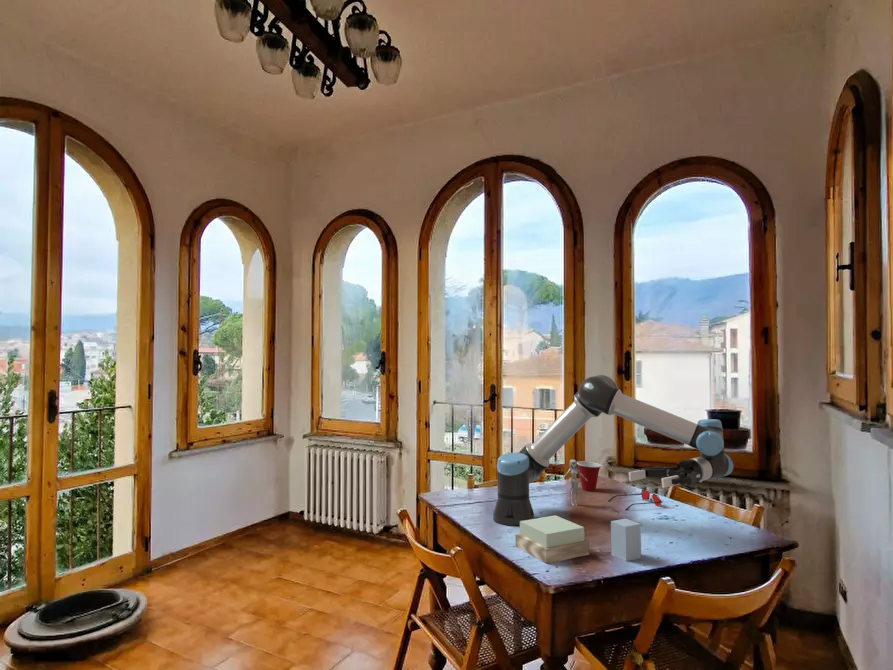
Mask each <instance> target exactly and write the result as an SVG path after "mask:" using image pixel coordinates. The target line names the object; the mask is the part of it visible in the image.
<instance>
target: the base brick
mask: <svg viewBox="0 0 893 670" xmlns="http://www.w3.org/2000/svg"><path fill="white" fill-rule="evenodd" d="M515 547H516V548H517V549H519V550H521V551H523V552H525V553H526V554H529V555H530V556H532V557H533V558H536V559H537V560H539V561H541V562H543V563H545V564H550V563H551V564H552V563H556V562H560V561H564V560H565V561H566V560H570V559H574V558H578V557H579V558H580V557H584V556H589V555H590V541H589V540H588V539H585V538H584V541H580V542H575V543H570V544H565V545H560V546H555V547H549V548H546V547H544V546H542V545H540V544H538V543H536V542H534V541H532V540H530V539H528V538H527V537H525V536H523V535H521V534H520V532H518V533H515Z"/></svg>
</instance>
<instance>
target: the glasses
mask: <svg viewBox="0 0 893 670" xmlns="http://www.w3.org/2000/svg"><path fill="white" fill-rule="evenodd" d="M651 494H652V495H651ZM650 495H651V496H650ZM627 496H641V498H642V501H645V500H649V502H640V503H639V502H638V503H632V504H630V505H629V506H628V507H626V508H625V510H624V511H628V510H629V509H630V508H631V507H632V506H634V505H645V504H647V505H648V504H654V505H655V506H656V507H659V506H661V505H662V504H663V501H662V500H661V499H660V498H661V497H659V495H657V494H656V493H653V492H652V491H651V492H650V491H649V490H646V489H641V491H640V493H632V494H631V493H630V494H618V495H617V494H616V495H614V496H612V497H611V498H610V499H609V500H607V502H611V501H613V499H614V498H616V497H627Z"/></svg>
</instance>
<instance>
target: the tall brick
mask: <svg viewBox="0 0 893 670" xmlns="http://www.w3.org/2000/svg"><path fill="white" fill-rule="evenodd" d="M641 525H642V524H641V523H639V522H636V521H633V520H631V519H628V518H621V519H617V520H615V519H614V520H610V543H611V544H610V545H611V546H610V547H611V554H610V555H612V556H613V557H615V558H618V559H620V560H623V561H624V562H629V561H634V560H639V559H641V558H642V537H641V536H642V535H641V534H642V529H641Z"/></svg>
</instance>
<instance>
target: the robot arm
mask: <svg viewBox="0 0 893 670" xmlns="http://www.w3.org/2000/svg"><path fill="white" fill-rule="evenodd" d="M617 385H618V384H617V383H616V382H615V381H614V380H613V378H611V377H609V376H607V375H604V374H597V375H594V376H589V377H587V378H585V379H584V380H582V382H581V383H580V385H579V389H578V391H577V392H576V393H575V394H574V395H573V400H574V401H573V402H572V403H571V404H570V405H569V406H568V407H567V408H566V409H565V410H564V411H563V412H562V413H561V414H560V415H559V416H558V417H557V418H556V419H555V420H554V421H553V423H551V424H550V425H549V427H547V429H546V430H545V431H543V433H542V434H541V435H540V436H539V437H537V439H536V440H535V441H533V443H526V444H525V445H524V446H523V448H521V450H520V451H519V452H508V453H503V454H502V455H500V456H499V457H498V458H497V462H496V463H497V464H496V473H497V476H496V477H497V478H496V479H497V480H496V481H497V485H496V486H497V499H496V503H495V506H494V510H493V512H492V519H493V521H494V522H496V523H497V524H501V525H505V526H520V521H524V520H530V519H535V513H534V509H533V505H532V504H531V500H530V484H531V483H532V482H534V481H536V480H538V479H539V478H540V477H541V476H542V474H543V472H544V471H546V469H547V468H548V467H549V466H550V460H551V458H553V456H555V454H556V453H558V451H559V450H561V448H563V446H564V445H565V444H566V443H568V441H569V440H570V439H571V438H572V437H574V436H575V434H577V432H578V431H579V430H580V429H581V428H582V427H583V426H584V425H585V424H586V423H587V422H588V421H589V420H591V418H598V417H599V416H601V414H602V413H603V414H605V415H607V416H613V415H614V416H618V417H620V418H622V419H624V420H627V421H630V422H632V423H634V424H637V425H639V426H640V427H644V428H646V429H648V430H651V431H653V432H656V433H659V434H661V435H663V436H665V437H668V438H670V439H672V440H675V441H677V442H680V443H682V444H684V445H687V446H689V447H691V448H693V449H695V450H697V451H699V453H700V456H697V457H692V458H688V459H683V460H680V461H679V462H678V463H677V465H675V466H674V465H673V466H668V465H665V466H654V467H639V468H638V470H634V471H629V472H628V481H629V482H633V481H638V480H639V481H640V480H646V479H647V478H660V480H661V488H663V489H666V488H670V487H675V486H679V485H681V486H684V485H685V484H686V486H692V485H693V484H695V483H698V482H699V483H703V481H707V480H713V479H718V478H719V479H721V478H723V477H726V476H728V475H730V474H731V473H732V472H733V470H734V463H733V460H732V458H731V457H730V456H729V455H728V454H727V453H725V442H724V431H723V425H722V421H721V420H720V419H716V418H715V419H712V418H710V419H709V418H707V419H706V418H705V419H700V420H698V421H697V423H696V422H693V421H690V420H688V419H686V418H683V417H681V416H678V415H675V414H673V413H671V412H668V411H666V410H663V409H661V408H658V407H656V406H654V405H652V404H648V403H646V402H643V401H641V400H639V399H636V398H634V397H631V396H629V395H626V394H624V393H623V392H622V390H621V389H619V388H618V386H617Z"/></svg>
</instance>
